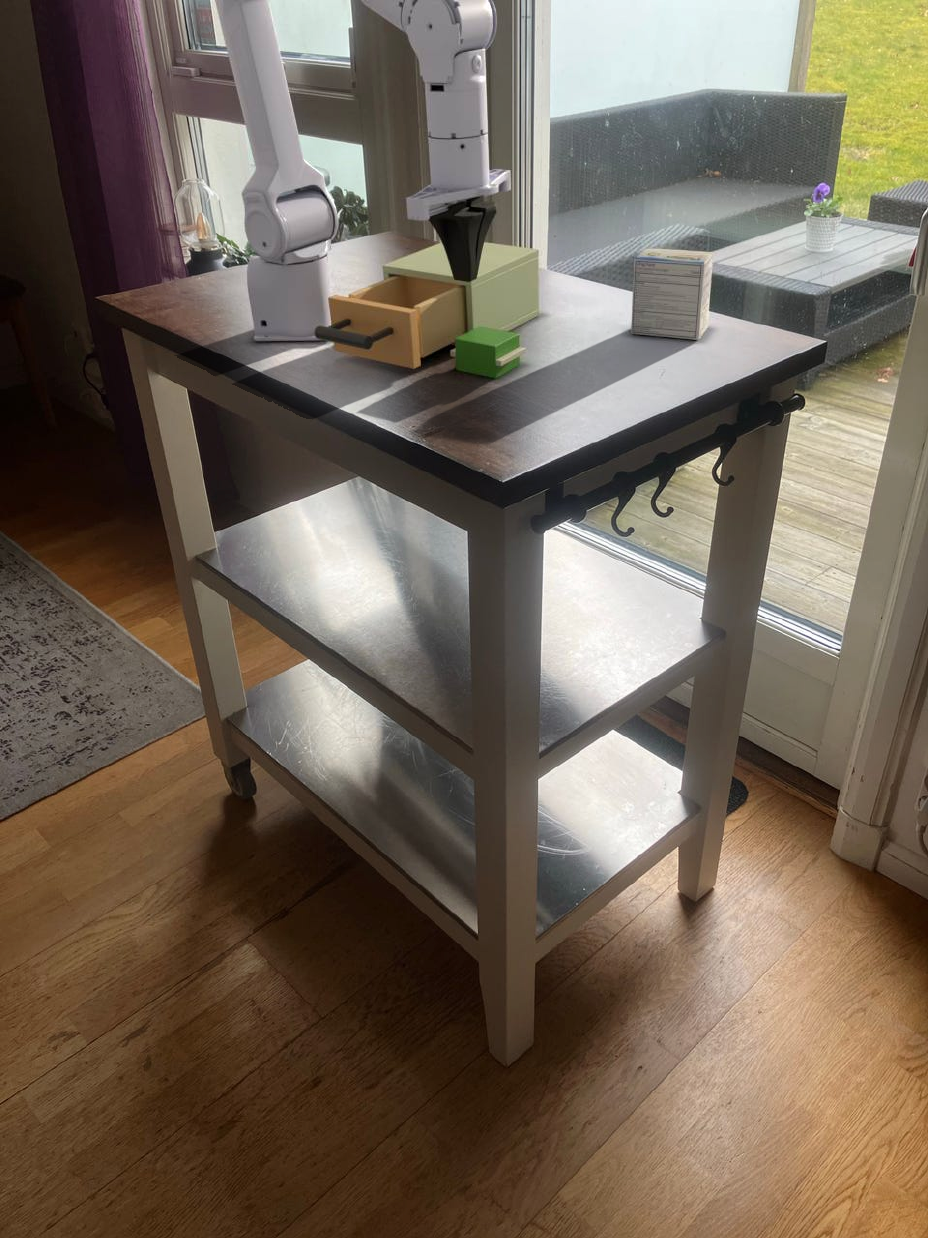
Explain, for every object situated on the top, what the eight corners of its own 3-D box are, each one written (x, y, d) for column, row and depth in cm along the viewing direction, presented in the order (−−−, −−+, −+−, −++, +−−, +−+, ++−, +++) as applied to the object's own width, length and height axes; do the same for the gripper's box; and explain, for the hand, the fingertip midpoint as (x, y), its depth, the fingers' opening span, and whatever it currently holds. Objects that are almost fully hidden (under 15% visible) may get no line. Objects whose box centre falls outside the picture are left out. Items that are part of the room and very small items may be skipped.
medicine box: (708, 329, 115) (715, 251, 111) (698, 341, 112) (705, 262, 107) (641, 322, 118) (645, 246, 113) (629, 335, 115) (633, 257, 110)
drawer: (384, 384, 104) (378, 326, 100) (304, 365, 110) (296, 310, 106) (482, 334, 115) (479, 281, 112) (404, 319, 121) (400, 268, 118)
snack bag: (525, 366, 109) (525, 334, 107) (501, 380, 106) (500, 347, 104) (475, 355, 112) (474, 324, 110) (451, 369, 109) (449, 337, 107)
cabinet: (474, 349, 114) (470, 279, 109) (388, 332, 120) (382, 265, 116) (539, 315, 123) (538, 249, 118) (456, 300, 129) (452, 237, 125)
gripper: (445, 149, 89) (453, 303, 97) (535, 123, 98) (536, 265, 106) (384, 145, 93) (397, 293, 100) (476, 120, 102) (482, 258, 110)
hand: (465, 279), depth 103 cm, fingers closed
